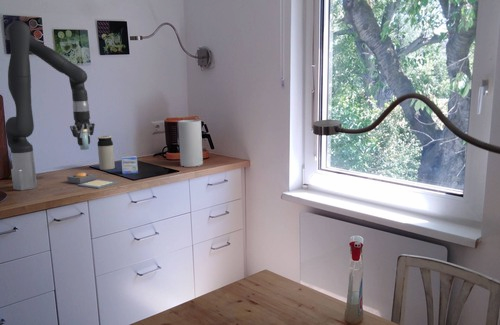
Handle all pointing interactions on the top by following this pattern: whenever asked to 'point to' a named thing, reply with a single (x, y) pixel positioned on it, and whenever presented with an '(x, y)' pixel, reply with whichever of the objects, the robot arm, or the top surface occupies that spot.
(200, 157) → the cylinder vase
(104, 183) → the picture board
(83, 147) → the teal bottle
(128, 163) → the medicine box
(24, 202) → the top surface
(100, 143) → the travel mug
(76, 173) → the button
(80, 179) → the button housing
